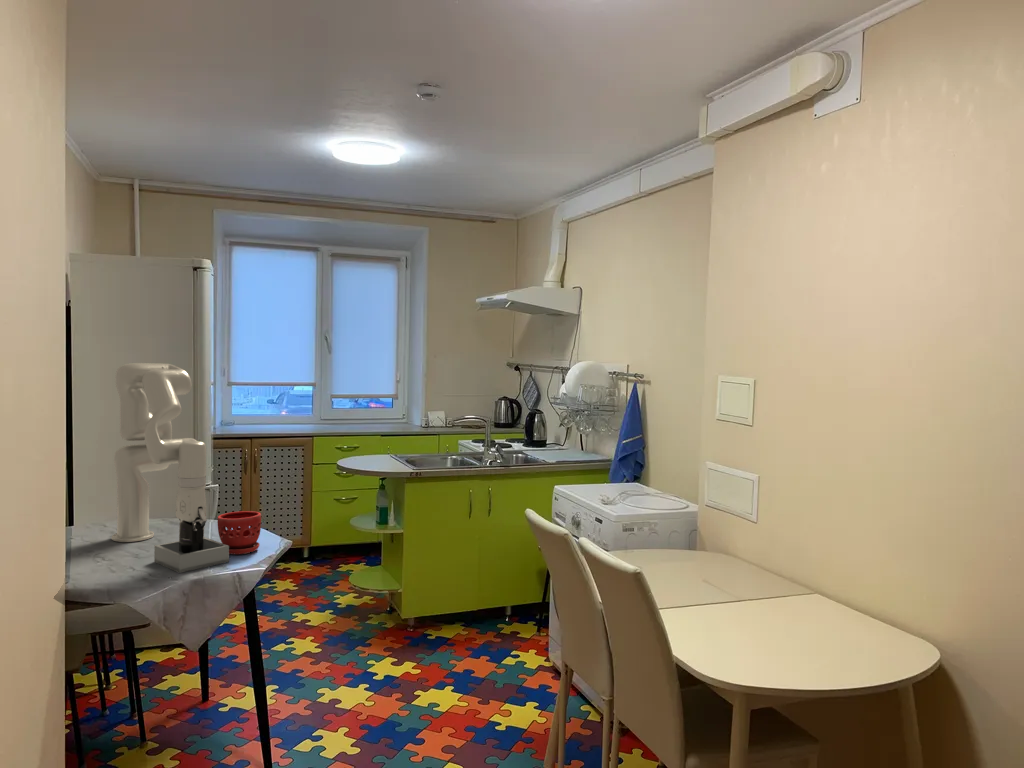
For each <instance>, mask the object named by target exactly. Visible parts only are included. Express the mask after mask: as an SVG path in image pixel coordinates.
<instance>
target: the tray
mask: <svg viewBox="0 0 1024 768" xmlns="http://www.w3.org/2000/svg"><path fill="white" fill-rule="evenodd" d="M153 549H154V555H153V556H154V561H153V562H154V563H155V564H158V565H161V566H163V567H165V568H167V569H169V570H172V571H174V572H175V573H179V574H181V573H186V572H190V571H195V570H200V569H205V568H209V567H212V566H213V565H214V566H218V565H221V563H223V564H226V563H225V562H227V563H230V554H229V546H228V545H225V544H223V543H222V542H221V541H220V542H219V541H217V540H214V539H211V538H208V537H206V536H204V546H203V550H201V551H196V552H191V553H186V554H183V553H180V552H179V540H177V541H173V542H171V541H170V542H165V543H160V544H155V545H154V548H153ZM217 564H218V565H217ZM208 566H209V567H208Z"/></svg>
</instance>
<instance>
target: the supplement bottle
mask: <svg viewBox="0 0 1024 768" xmlns="http://www.w3.org/2000/svg"><path fill="white" fill-rule="evenodd" d="M195 520H199V518H196V519H195ZM179 523H180V522H179ZM198 523H199V522H197V523H196V526H197V524H198ZM178 530H179V531H178V533H179V535H178V541H179V552H180V553H183V554H186V553H191V552H196V551H201V550H203V546H204V537H205V529H204V530H203V543H198V544H192V531H194V529H193V525H192V522H187V521H184V520H183V521H182V522H181V523H180V525H179V529H178Z"/></svg>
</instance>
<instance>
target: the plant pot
mask: <svg viewBox="0 0 1024 768" xmlns="http://www.w3.org/2000/svg"><path fill="white" fill-rule="evenodd" d="M261 527H262V514H261V512H259V511H254V510H253V511H252V510H247V511H246V510H243V511H242V510H241V511H232V512H226V513H222V514H219V515H218V516H217V532H218V535H219V536H218V537H219V539H220V543H223V544H225V545H228V546H229V555H245V554H251V553H250V552H252V553H253V552H255V551H256V550H258V549H259V548H260V543H259V542H258V539H259V537H260V535H261V532H262V531H261Z"/></svg>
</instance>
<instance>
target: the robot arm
mask: <svg viewBox="0 0 1024 768" xmlns="http://www.w3.org/2000/svg"><path fill="white" fill-rule="evenodd" d="M114 380H115V381H114V382H115V387H116V391H117V395H118V397H119V433H120V437H121V438H122V440H123V441H126V442H127V441H128V442H137V441H144V443H142V444H141V443H139V444H130V445H125V446H121V447H119V448H117V450H116V451H115V452H114V455H113V462H114V469H115V473H116V485H117V487H116V495H117V497H116V498H117V499H116V501H117V502H116V503H117V504H116V508H117V509H116V510H117V511H116V512H117V515H116V519H117V521H116V523H117V524H116V533H115V534H114V533H113V534H112V535H111V540H112V541H114V542H118V543H131V542H132V543H133V542H140V541H146V540H149V539H152V538H153V537H154V536H155V533H154V531H152V530H150V486H149V485H150V484H149V482H148V481H147V479H146V478H145V477H144V476H143V475H142V474H143V473H148V472H156V471H157V472H158V471H163V470H166V469H168V468H169V467H170V465H171V464H172V465H173V464H178V476H177V477H178V480H177V481H178V486H177V487H178V489H177V493H176V494H177V495H176V502H175V503H176V505H175V517H176V518H177V519H178V520H179V526H180V523H181V522H182V521H183V520H184V521H187V522H192V525H193V529H194V531H192V544H198V543H203V530H204V531H205V526H206V523H207V521H208V519H207V500H206V490H205V488H206V486H207V481H206V480H207V477H206V476H207V475H206V474H207V445H206V443H205V442H204V441H200V440H199V441H198V440H196V439H195V438H192V437H184V438H173V426H172V421H173V420H175V419H176V418H178V416H179V415H181V413H182V406H181V403H180V400H179V397H178V396H185V395H188V394H189V393H190V391H191V389H192V387H193V385H192V383H193V382H192V379H191V376H190V374H189V373H188V372H187V371H186V370H184V369H183V368H181V367H178V366H177V365H174V364H171V363H157V362H155V363H152V362H151V363H150V362H149V363H148V362H146V363H145V362H135V363H133V362H132V363H125V364H122V365H120V366H119V367H118V368H117V369H116V372H115V379H114ZM149 408H150V410H151V411H149ZM196 518H199V520H195V519H196ZM197 522H199V523H198V524H197V526H196V523H197Z"/></svg>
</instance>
